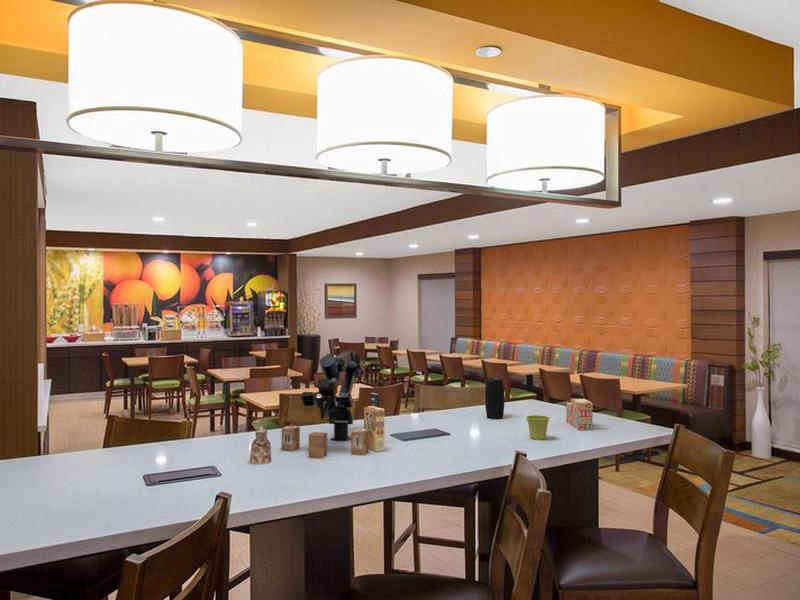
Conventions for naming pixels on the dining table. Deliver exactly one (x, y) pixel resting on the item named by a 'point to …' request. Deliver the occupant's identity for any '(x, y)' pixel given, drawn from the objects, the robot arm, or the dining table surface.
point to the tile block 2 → (359, 442)
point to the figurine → (260, 447)
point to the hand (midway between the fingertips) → (322, 418)
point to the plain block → (317, 445)
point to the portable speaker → (494, 397)
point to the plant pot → (537, 426)
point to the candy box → (375, 427)
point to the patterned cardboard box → (580, 414)
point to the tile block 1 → (290, 438)
